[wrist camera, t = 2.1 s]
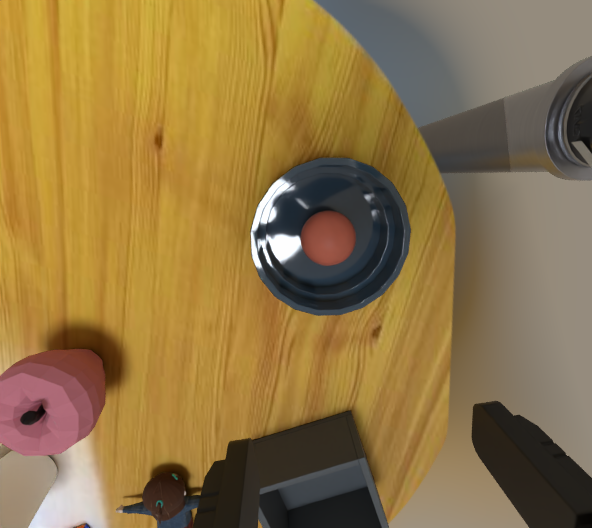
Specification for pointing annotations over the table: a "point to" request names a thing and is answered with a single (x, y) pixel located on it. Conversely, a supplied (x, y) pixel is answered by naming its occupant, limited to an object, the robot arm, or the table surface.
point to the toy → (166, 502)
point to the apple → (51, 401)
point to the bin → (317, 478)
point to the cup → (23, 487)
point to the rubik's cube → (83, 526)
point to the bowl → (364, 217)
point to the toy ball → (328, 238)
